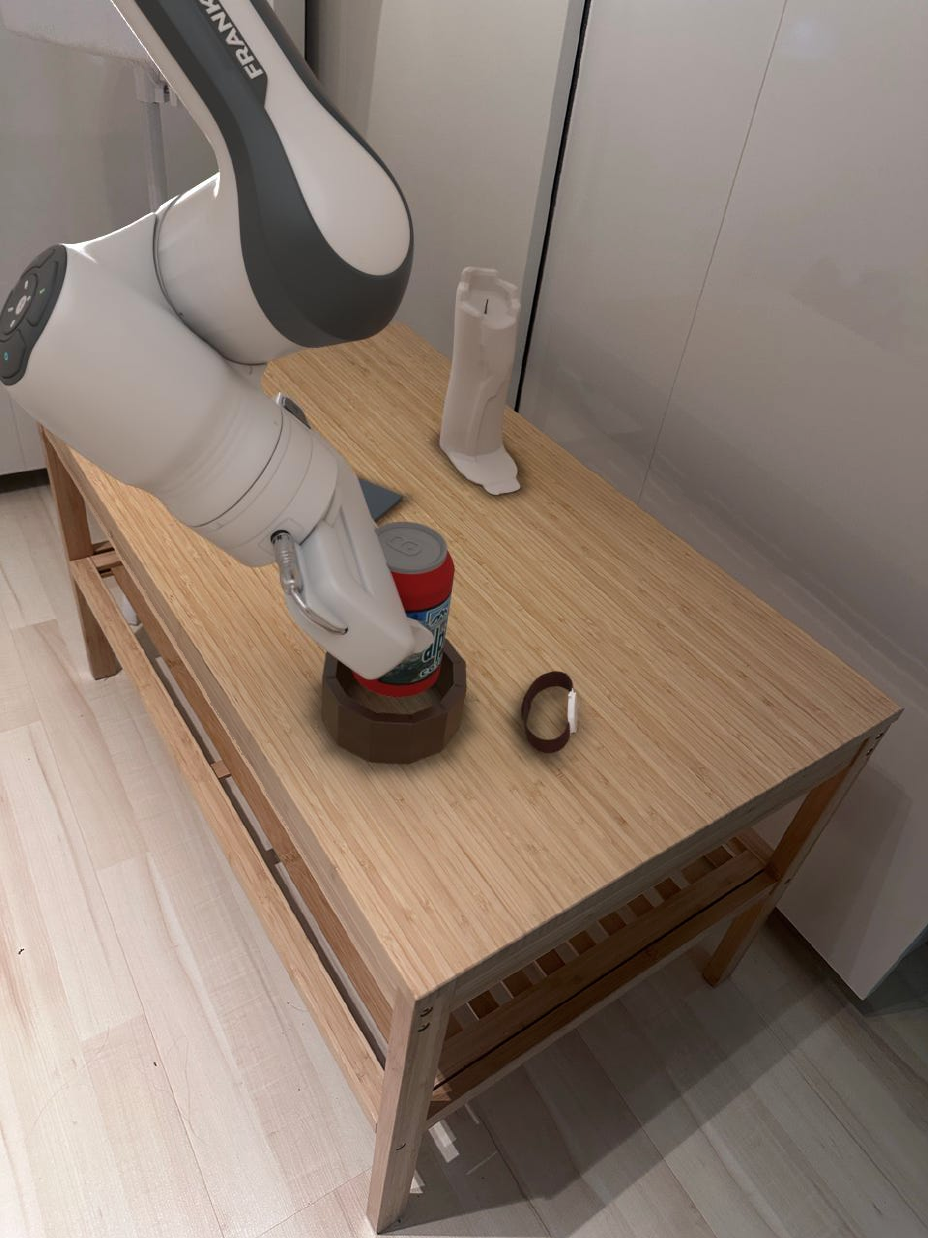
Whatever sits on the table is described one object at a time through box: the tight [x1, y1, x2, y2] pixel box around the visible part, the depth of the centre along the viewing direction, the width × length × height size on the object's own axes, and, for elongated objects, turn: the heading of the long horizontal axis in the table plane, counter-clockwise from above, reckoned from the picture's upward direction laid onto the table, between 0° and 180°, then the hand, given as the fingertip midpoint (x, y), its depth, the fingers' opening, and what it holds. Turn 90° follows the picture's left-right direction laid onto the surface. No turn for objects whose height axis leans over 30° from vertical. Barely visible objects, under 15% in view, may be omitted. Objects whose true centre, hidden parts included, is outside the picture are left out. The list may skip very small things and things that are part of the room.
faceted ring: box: [320, 637, 467, 765], centre depth 67 cm, size 11×11×4 cm
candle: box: [439, 266, 522, 496], centre depth 92 cm, size 7×14×20 cm, turn 24°
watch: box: [520, 670, 579, 754], centre depth 68 cm, size 8×5×4 cm, turn 170°
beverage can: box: [352, 521, 456, 699], centre depth 61 cm, size 7×7×12 cm
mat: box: [357, 476, 404, 523], centre depth 88 cm, size 12×12×1 cm
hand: (410, 601), depth 61 cm, fingers closed on beverage can, 7 cm apart
